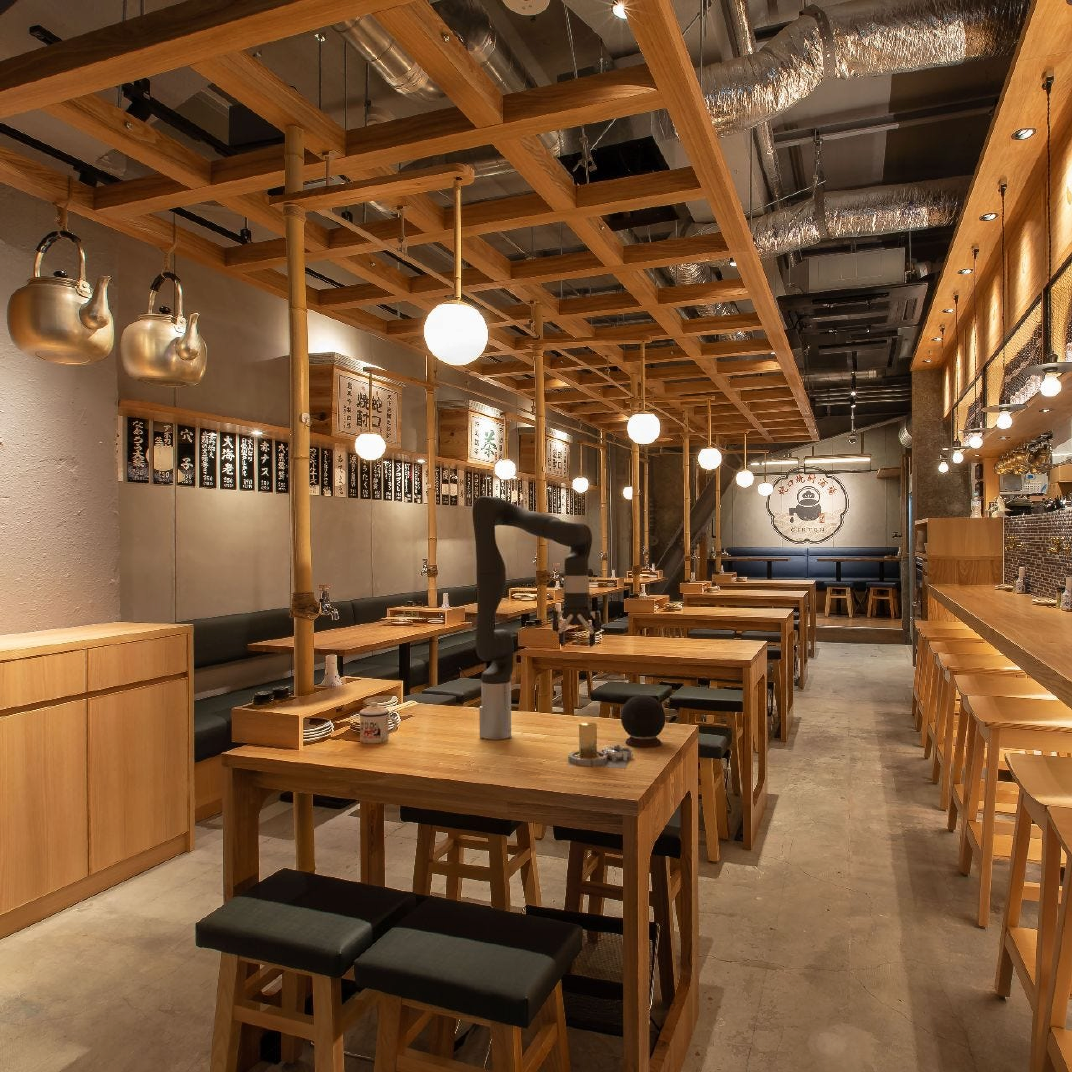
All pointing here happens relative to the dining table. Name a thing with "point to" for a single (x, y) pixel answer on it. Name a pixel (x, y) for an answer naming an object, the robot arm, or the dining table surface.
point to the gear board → (612, 764)
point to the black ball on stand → (643, 721)
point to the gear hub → (587, 741)
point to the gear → (618, 753)
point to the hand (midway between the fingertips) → (577, 646)
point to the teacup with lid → (375, 724)
